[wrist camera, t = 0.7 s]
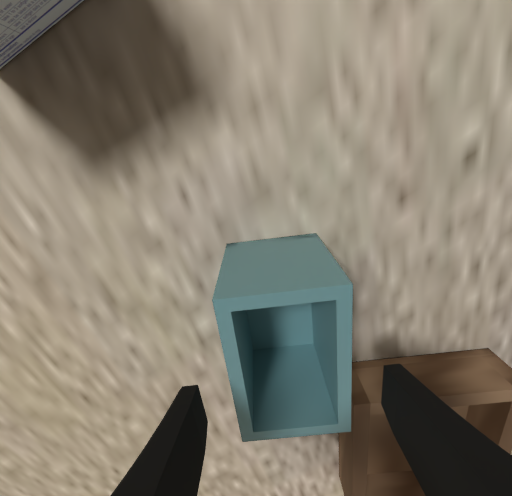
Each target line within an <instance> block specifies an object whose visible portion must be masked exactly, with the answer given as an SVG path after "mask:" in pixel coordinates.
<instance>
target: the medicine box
mask: <svg viewBox="0 0 512 496" xmlns="http://www.w3.org/2000/svg"><path fill="white" fill-rule="evenodd" d="M83 1H84V0H0V69H1V68H2V67H3V66H5V65H6V64H7V63H8V62H9V61H11V60H12V59H13V58H14V57H15V56H17V55H18V54H19V53H20V52H21V51H23V50H24V49H25V48H26V47H28V46H29V45H30V44H31V43H32V42H34V41H35V40H36V39H37V38H39V37H40V36H41V35H42V34H43V33H45V32H46V31H47V30H48V29H49V28H51V27H52V26H53V25H54V24H56V23H57V22H58V21H59V20H61V19H62V18H63V17H64V16H66V15H67V14H68V13H69V12H70V11H72V10H73V9H74V8H75V7H76V6H78V5H79V4H80V3H81V2H83Z"/></svg>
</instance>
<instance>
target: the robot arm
mask: <svg viewBox="0 0 512 496" xmlns="http://www.w3.org/2000/svg"><path fill="white" fill-rule="evenodd" d="M381 405H382V407H383V410H384V412H385V415H386V418H387V420H388V422H389V425H390V427H391V430H392V432H393V434H394V436H395V438H396V440H397V442H398V444H399V446H400V448H401V450H402V452H403V454H404V456H405V458H406V460H407V461H408V463H409V465H410V467H411V469H412V471H413V473H414V475H415V477H416V479H417V480H418V482H419V484H420V486H421V488H422V490H423V492H424V494H425V496H512V455H510V454H509V453H508V452H506V451H505V450H504V449H502V448H501V447H500V446H498V445H497V444H496V443H494V442H493V441H492V440H490V439H489V438H488V437H487V436H485V435H484V434H483V433H481V432H480V431H479V430H478V429H476V428H475V427H474V426H473V425H471V424H470V423H469V422H468V421H466V420H465V419H464V418H463V417H461V416H460V415H459V414H458V413H457V412H455V411H454V410H453V409H452V408H451V407H449V406H448V405H447V404H446V403H445V402H443V401H442V400H441V399H440V398H439V397H438V396H436V395H435V394H434V393H433V392H432V391H431V390H429V389H428V388H427V387H426V386H425V385H424V384H423V383H421V382H420V381H419V380H418V379H417V378H416V377H415V376H414V375H412V374H411V373H410V372H409V371H408V370H407V369H406V368H405V367H403V366H402V365H401V364H390V365H384V367H383V382H382V396H381ZM207 424H208V420H207V417H206V413H205V409H204V406H203V402H202V399H201V395H200V391H199V388H198V385H193V386H184V387H182V388H181V389H180V391H179V392H178V394H177V396H176V397H175V399H174V401H173V403H172V404H171V406H170V408H169V409H168V411H167V413H166V414H165V416H164V418H163V419H162V421H161V423H160V424H159V426H158V427H157V429H156V431H155V432H154V434H153V435H152V437H151V438H150V440H149V441H148V443H147V445H146V446H145V448H144V449H143V451H142V452H141V454H140V455H139V456H138V458H137V459H136V461H135V462H134V464H133V465H132V467H131V468H130V469H129V471H128V472H127V474H126V475H125V477H124V478H123V479H122V481H121V482H120V484H119V485H118V486H117V488H116V489H115V490H114V492H113V493H112V494H111V496H197V493H198V488H199V482H200V477H201V472H202V466H203V461H204V455H205V447H206V437H207Z"/></svg>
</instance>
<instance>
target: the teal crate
mask: <svg viewBox="0 0 512 496" xmlns="http://www.w3.org/2000/svg"><path fill="white" fill-rule="evenodd" d="M352 299H353V284H352V283H351V281H350V280H349V278H348V277H347V276H346V274H345V273H344V271H343V270H342V269H341V267H340V266H339V264H338V263H337V262H336V260H335V259H334V258H333V256H332V255H331V253H330V252H329V251H328V249H327V248H326V246H325V245H324V244H323V242H322V241H321V240H320V238H319V237H318V235H317V234H316V233H314V234H306V235H297V236H289V237H281V238H272V239H264V240H256V241H247V242H239V243H231V244H227V245H226V249H225V253H224V257H223V261H222V265H221V268H220V272H219V276H218V280H217V284H216V288H215V292H214V295H213V299H212V301H213V306H214V310H215V315H216V320H217V324H218V329H219V334H220V339H221V343H222V348H223V353H224V357H225V362H226V367H227V371H228V376H229V381H230V385H231V390H232V395H233V400H234V404H235V409H236V414H237V418H238V423H239V428H240V432H241V437H242V442H247V441H257V440H268V439H278V438H289V437H299V436H310V435H320V434H331V433H341V432H351V388H352Z"/></svg>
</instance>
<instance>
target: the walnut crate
mask: <svg viewBox="0 0 512 496" xmlns="http://www.w3.org/2000/svg"><path fill="white" fill-rule="evenodd" d="M390 364H401V365H402V366H403V367H405V368H406V369H407V370H408V371H409V372H410V373H411V374H412V375H414V376H415V377H416V378H417V379H418V380H419V381H420V382H421V383H423V384H424V385H425V386H426V387H427V388H428V389H429V390H431V391H432V392H433V393H434V394H435V395H436V396H438V397H439V398H440V399H441V400H442V401H443V402H445V403H446V404H447V405H448V406H449V407H451V408H452V409H453V410H454V411H455V412H457V413H458V414H459V415H460V416H461V417H463V418H464V419H465V420H466V421H468V422H469V423H470V424H471V425H473V426H474V427H475V428H476V429H478V430H479V431H480V432H481V433H483V434H484V435H485V436H487V437H488V438H489V439H490V440H492V441H493V442H494V443H496V444H497V445H498V446H500V447H501V448H502V449H504V450H505V451H506V452H508V453H509V454H511V451H512V368H511V367H509V366H508V365H507V364H506V363H505V362H504V361H502V360H501V359H500V358H499V357H498V356H497V355H495V354H494V353H493V352H492V351H491V350H490V349H488V348H487V349H477V350H467V351H458V352H448V353H438V354H429V355H419V356H409V357H400V358H390V359H380V360H371V361H361V362H352V388H351V432H341V433H339V477H340V480H341V484H342V488H343V492H344V496H425V494H424V492H423V490H422V488H421V486H420V484H419V482H418V480H417V479H416V477H415V475H414V473H413V471H412V469H411V467H410V465H409V463H408V461H407V460H406V458H405V456H404V454H403V452H402V450H401V448H400V446H399V444H398V442H397V440H396V438H395V436H394V434H393V432H392V430H391V427H390V425H389V422H388V420H387V418H386V415H385V412H384V410H383V407H382V405H381V396H382V382H383V367H384V365H390Z"/></svg>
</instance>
